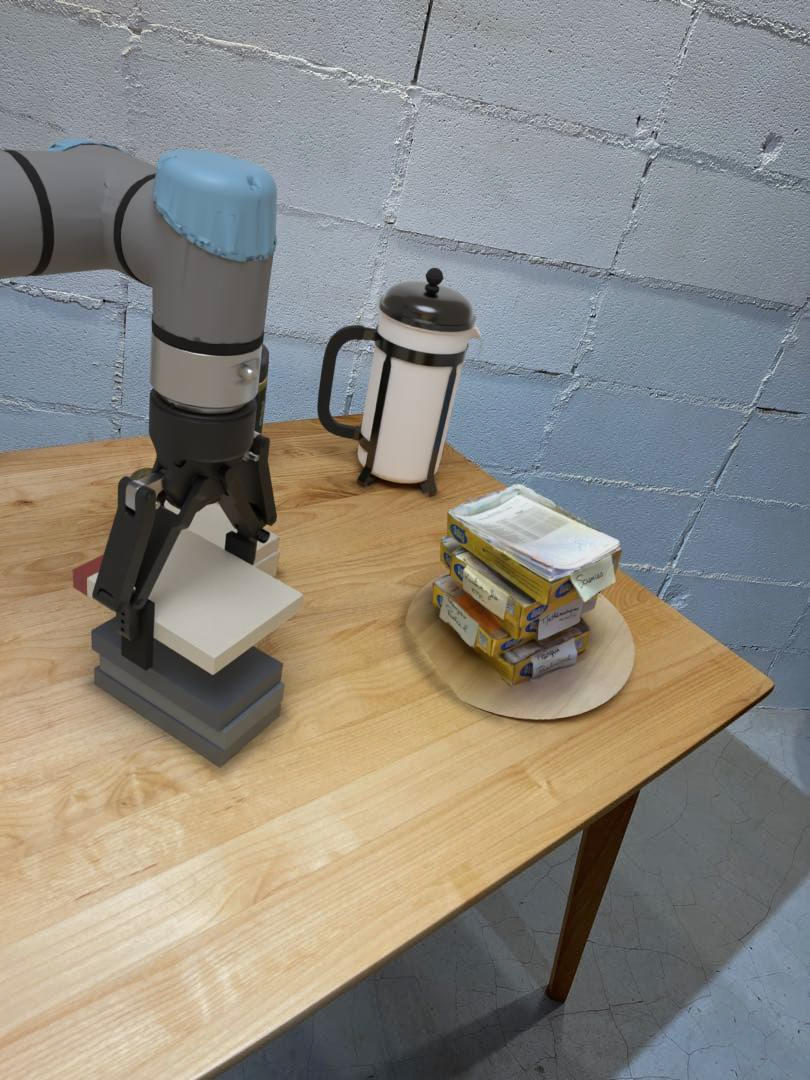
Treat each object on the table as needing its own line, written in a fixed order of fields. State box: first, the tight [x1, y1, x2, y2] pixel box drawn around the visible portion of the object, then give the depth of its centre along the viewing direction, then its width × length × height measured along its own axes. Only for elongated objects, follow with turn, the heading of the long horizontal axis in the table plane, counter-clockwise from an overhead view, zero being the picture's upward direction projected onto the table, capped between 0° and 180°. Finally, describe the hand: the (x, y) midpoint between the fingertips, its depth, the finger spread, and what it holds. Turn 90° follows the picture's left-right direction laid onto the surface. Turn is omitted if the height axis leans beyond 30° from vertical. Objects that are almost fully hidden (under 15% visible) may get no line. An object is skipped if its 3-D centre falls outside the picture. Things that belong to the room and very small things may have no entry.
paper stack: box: [405, 483, 636, 720], centre depth 86 cm, size 25×25×17 cm
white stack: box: [164, 500, 281, 578], centre depth 91 cm, size 16×8×5 cm, turn 59°
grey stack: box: [90, 615, 286, 769], centre depth 73 cm, size 15×8×7 cm, turn 59°
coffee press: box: [316, 267, 483, 497], centre depth 110 cm, size 17×16×30 cm
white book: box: [72, 529, 304, 675], centre depth 68 cm, size 15×11×2 cm
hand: (188, 626), depth 70 cm, fingers closed on white book, 11 cm apart
